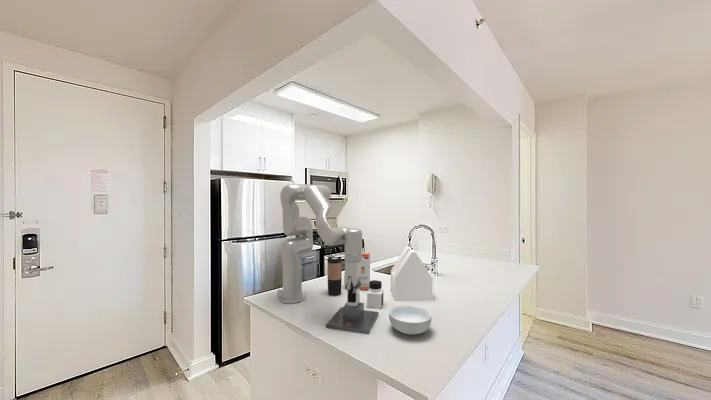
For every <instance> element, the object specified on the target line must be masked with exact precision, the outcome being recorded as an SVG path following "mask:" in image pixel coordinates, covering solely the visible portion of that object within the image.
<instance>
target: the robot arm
mask: <svg viewBox="0 0 711 400" xmlns="http://www.w3.org/2000/svg"><path fill="white" fill-rule="evenodd" d="M279 197H280V198H279V199H280V203H281V204H280V205H281V208H282V229H283V234H284V235H285V236H287V237H293V238H288V239H285V240H283V241H282V243H281V244H280V254H281V259H282V289H277V292H276V295H280V297H279V300H280V302H281V303H282V304H297V303H300V302H302V301H304V300H306V299H305V298H306V297H305V294H303V290H302V288H303V283H302V280H303V278H302V277H303V276H302V274H303V273H302V271H303V270H302V268H303V266H302V262H301V260H300V258H299V256H304V255H308V254H310V253H311V252H312V251H313V247H314V239H313V237H314V234H313V233H314V232H313V230H314V229H313V224H312V221H311V219H310V218H308V217H307V216H300V207H299V205H298V203H297V201H298V202H299V201H302V202H303V201H305V202H306V203H307V204H308V206H309V207H310V208H311V210H312V212H313V214H314V215H315V221H314V222H315V229H316V232H317V234H318V236H319V237H320V239H321V240H322V242H323V243H324V244H325V245H326V246H331V247H332V246H337V245H338V246H339V245H344V274H343V275H344V279H343V285H344V287H345V286H346V285H347V284H348V285H347V289H346V290H348V302H351V303H355V302H356V293H355V286H356V285H357V284H358V283H359V282H360V280H361V262H362V252H363V231H362V230H361V228H355V227H354V228H353V227H348V226H338V227H332V226H330V224H329V223H328V221H327V218H326V217H328V216H329V214H331V212H332V211H333V206H332V205H331V203H330V202H329V200H330V199H331V197H332V192H331V189H330V187H328V186H327V185H325V184H305V183H304V184H303V183H289V184H286V185H284V186H283V187H282V188H281V190H280V196H279ZM294 236H299V237H294ZM345 262H346V263H345ZM351 284H353V286H352V285H351ZM351 287H353V289H352V288H351Z"/></svg>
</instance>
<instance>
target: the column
mask: <svg viewBox="0 0 711 400" xmlns="http://www.w3.org/2000/svg"><path fill="white" fill-rule="evenodd" d="M347 285H348V284H347ZM347 285H346V288H347ZM351 285H352V286H353V284H351ZM360 286H361V282H359V283H358V284H357V285H356V286H355V293H356V302H355V303H351V302H348V290H347V289H346V290H347V291H346V293H347V294H346V298H347V299H346V300H347V301H346V303H347V307H354V308H358V306H359V305H360V303H361V302H360V297H361V296H360V293H361V292H360V291H361V290H360ZM351 288H352V289H353V287H351Z"/></svg>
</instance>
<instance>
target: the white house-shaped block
mask: <svg viewBox="0 0 711 400" xmlns="http://www.w3.org/2000/svg"><path fill="white" fill-rule="evenodd" d="M390 292H391V294H392V297H393V299H394V301H396V302H397V301H405V302H406V301H410V302H411V301H433V277H432V275H431V274H430V272H429V271H428V268H427V267H426V266H425V264H424V263H423V261H422V259H421V258H420V257H419V255H418V254H417V252H416V251H415V250H414V249H412V248H411V247H410V246H405V247H404V249H403V250H402V252H401V253H400V255H399V257H398V259H397V260H396V262H395V263H394V265H393V266H392V268H391V270H390Z"/></svg>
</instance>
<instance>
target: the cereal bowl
mask: <svg viewBox="0 0 711 400" xmlns="http://www.w3.org/2000/svg"><path fill="white" fill-rule="evenodd" d="M388 311H389V312H388V318H389V319H388V320H389V322H390V324H391V326H392V327H393V328H394V329H395V330H397V331H399V332H401V333H403V334H405V335H409V336H415V335H418V334H422V333H425V332H426V331H428V330H429V328H431V327H430V326H431V323H432V319H433V318H432V314H431V312H430V311H429V310H428V309H425V308H423V307H420V306H416V305H410V304H405V305H404V304H402V305H396V306H394V307H391V308H389V310H388Z"/></svg>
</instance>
